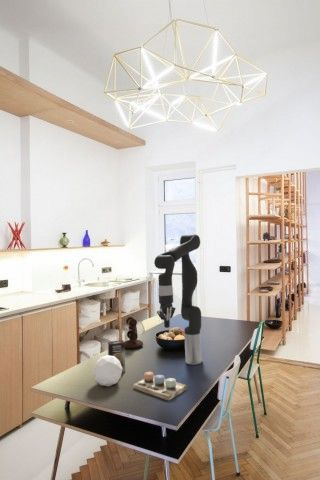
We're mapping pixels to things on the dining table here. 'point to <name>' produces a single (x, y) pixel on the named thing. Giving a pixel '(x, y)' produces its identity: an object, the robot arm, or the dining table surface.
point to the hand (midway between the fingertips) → (167, 327)
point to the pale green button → (170, 382)
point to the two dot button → (148, 376)
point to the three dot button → (159, 379)
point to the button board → (159, 389)
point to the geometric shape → (107, 370)
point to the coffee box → (117, 351)
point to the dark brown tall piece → (132, 335)
